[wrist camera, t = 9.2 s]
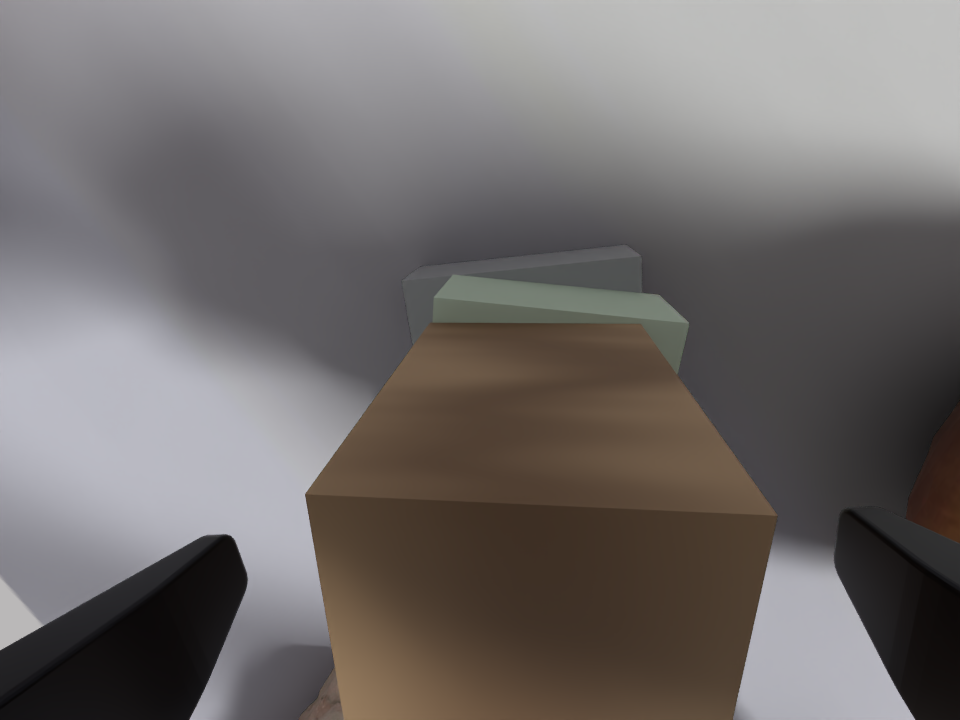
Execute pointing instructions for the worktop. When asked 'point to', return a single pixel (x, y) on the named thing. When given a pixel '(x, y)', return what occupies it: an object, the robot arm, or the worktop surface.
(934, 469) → the butternut squash
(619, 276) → the base block
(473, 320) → the top block
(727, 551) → the tan rectangular prism
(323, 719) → the brick
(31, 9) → the worktop surface
